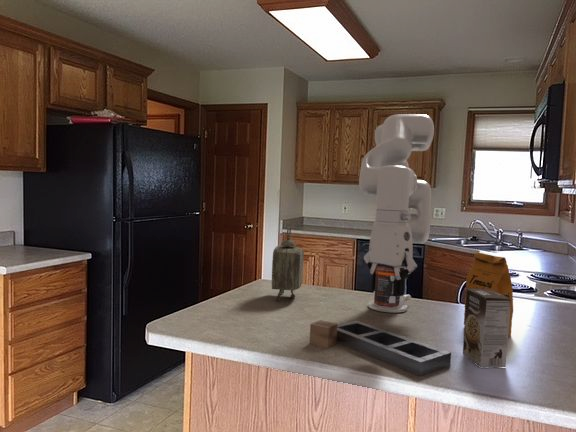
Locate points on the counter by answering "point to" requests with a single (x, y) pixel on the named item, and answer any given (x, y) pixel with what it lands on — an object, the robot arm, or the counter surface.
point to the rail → (393, 348)
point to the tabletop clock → (287, 266)
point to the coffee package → (491, 278)
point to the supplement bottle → (385, 287)
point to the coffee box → (486, 327)
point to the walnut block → (323, 333)
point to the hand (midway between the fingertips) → (387, 292)
